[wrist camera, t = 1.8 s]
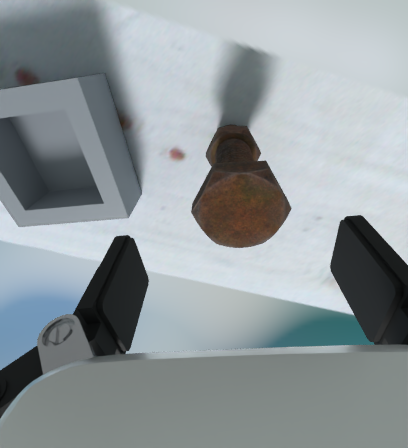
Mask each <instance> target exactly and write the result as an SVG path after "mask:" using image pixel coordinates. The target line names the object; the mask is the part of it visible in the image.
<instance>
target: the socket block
mask: <svg viewBox="0 0 408 448" xmlns="http://www.w3.org/2000/svg"><path fill="white" fill-rule="evenodd" d="M141 195H142V193H141V189H140V186H139V183H138V180H137V176H136V173H135V170H134V167H133V163H132V160H131V157H130V154H129V150H128V147H127V144H126V140H125V137H124V134H123V131H122V127H121V124H120V121H119V118H118V114H117V111H116V108H115V104H114V101H113V98H112V95H111V91H110V88H109V85H108V82H107V78H106V75H105V73H102V74H96V75H90V76H83V77H77V78H70V79H64V80H57V81H51V82H45V83H38V84H32V85H25V86H19V87H12V88H6V89H0V200H1V202H2V203H3V205H4V206H5V208H6V209H7V211H8V212H9V214H10V215H11V217H12V218H13V219H14V221H15V222H16V224H17V225H18V227H26V226H38V225H50V224H62V223H75V222H87V221H99V220H111V219H124V218H129V216H130V214H131V213H132V211H133V209H134V207H135V205H136V204H137V202H138V200H139V198H140V196H141Z"/></svg>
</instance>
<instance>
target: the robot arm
mask: <svg viewBox="0 0 408 448" xmlns="http://www.w3.org/2000/svg"><path fill="white" fill-rule="evenodd" d="M330 268H331V272H332V274H333V276H334V278H335V280H336V281H337V283H338V285H339V287H340V289H341V291H342V293H343V294H344V296H345V298H346V300H347V302H348V304H349V305H350V307H351V309H352V311H353V313H354V315H355V316H356V318H357V320H358V322H359V324H360V326H361V327H362V329H363V331H364V333H365V335H366V337H367V339H368V340H369V341H370V342H374V344H375V345H346V346H345V345H343V346H313V347H312V346H311V347H281V348H254V349H253V348H252V349H225V350H202V351H201V350H200V351H177V352H152V353H135V354H125V353H126V351H129V349H130V347H131V343H132V340H133V337H134V333H135V329H136V326H137V323H138V319H139V315H140V312H141V308H142V305H143V301H144V298H145V294H146V291H147V287H148V282H149V280H148V276H147V273H146V270H145V268H144V265H143V262H142V259H141V257H140V254H139V251H138V249H137V246H136V243H135V241H134V239H133V238H130V236H128V235H125V236H116V237H115V238H114V240H113V242H112V244H111V246H110V248H109V249H108V251H107V253H106V255H105V257H104V259H103V261H102V263H101V264H100V266H99V267H98V269H97V270H96V272H95V274H94V276H93V278H92V280H91V281H90V283H89V285H88V287H87V289H86V291H85V293H84V294H83V296H82V298H81V300H80V302H79V304H78V306H77V308H76V310H75V312H74V313H73V315H72V314H66V315H62V316H60V317H57V318H55V319H54V320H52V321H51V322H49V323H48V324H47V325H46V326H45V327H44V328H43V330H42V331H41V333H40V334H39V337H38V339H37V340H38V341H37V346H36V347H34V348H33V349H32V350H30V351H29V352H27V353H26V354H24V355H23V356H21V357H20V358H19V359H17V360H15V361H14V362H12V363H11V364H9V365H8V366H6V367H5V368H3V369H2V370H0V448H408V265H407V264H406V263H405V262H404V261H403V260H402V258H401V257H400V256H399V255H398V254H397V253H396V252H395V251H394V250H393V249H392V248H391V246H390V245H389V244H388V243H387V242H386V241H385V240H384V239H383V238H382V237H381V236H380V235H379V233H378V232H377V231H376V230H375V229H374V228H373V227H372V226H371V225H370V224H369V223H368V221H367V220H366V219H365V218H364V217H363V216H361V215H358V216H347V217H345V218H344V220H341V222H340V225H339V229H338V234H337V238H336V242H335V247H334V251H333V256H332V260H331V265H330Z"/></svg>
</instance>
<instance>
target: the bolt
mask: <svg viewBox="0 0 408 448" xmlns="http://www.w3.org/2000/svg"><path fill="white" fill-rule="evenodd" d="M260 154H261V152H260V150H259V148H258V146H257V144H256V142H255V140H254V138H253V136H252V135H251V133H250V131H249V129H248V128H247V126H237V125H227V126H224V127H220V128H218V129H217V131H216V133H215V135H214V137H213V139H212V141H211V143H210V145H209V147H208V150H207V152H206V158H207V159H208V161H209V163H210V165H211V166H212V168H211V170H210V171H209V173H208V175H207V177H206V179H205V181H204V183H203V185H202V186H201V188H200V190H199V192H198V194H197V196H196V198H195V200H194V201H193V204H192V210H191V213H192V214H193V216H194V218H195V220H196V221H197V223H198V224H199V226H200V227H201V229H202V230H203V231H204V232H205V234H206V235H207V236H208V237H209V238H210V239H211V240H212V241H214V242H215V243H216V244H219V245H223V246H227V247H234V248H243V247H251V246H255V245H259V244H262V243H264V242H266V241H267V240H269V239H270V238H271V237H272V236H273V235H274V234H275V233H276V232H277V231H278V230H279V228H280V227H281V226H282V224H283V223H284V221H285V220H286V218H287V216H288V214H289V212H290V211H291V207H290V204H289V202H288V200H287V198H286V196H285V194H284V193H283V191H282V189H281V187H280V185H279V183H278V182H277V180H276V178H275V176H274V174H273V173H272V171H271V169H270V167H269V165H268V163H267V162H266V161H257V160H258V158H259V156H260Z"/></svg>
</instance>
